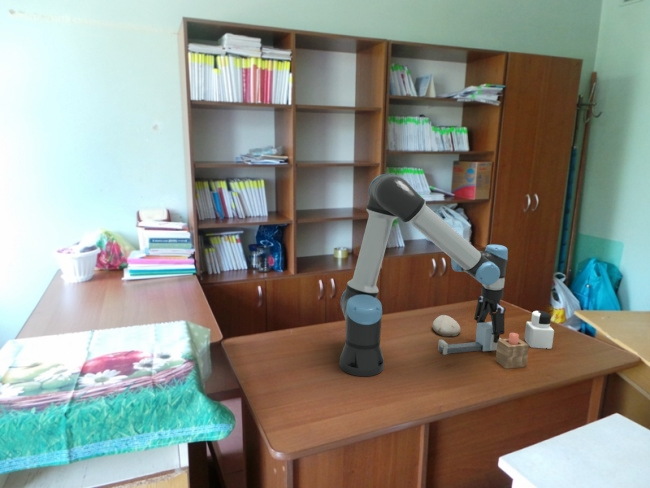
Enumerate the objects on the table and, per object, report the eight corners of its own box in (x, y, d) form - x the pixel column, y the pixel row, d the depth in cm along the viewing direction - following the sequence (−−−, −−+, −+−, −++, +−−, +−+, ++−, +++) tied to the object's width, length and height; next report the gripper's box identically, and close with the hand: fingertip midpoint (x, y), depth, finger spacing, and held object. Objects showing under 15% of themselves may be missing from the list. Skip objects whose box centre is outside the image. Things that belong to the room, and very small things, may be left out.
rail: (443, 354, 162) (444, 344, 161) (438, 349, 165) (438, 339, 165) (501, 349, 168) (502, 339, 167) (494, 344, 171) (495, 334, 170)
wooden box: (506, 368, 152) (508, 346, 151) (495, 360, 158) (497, 339, 156) (526, 366, 154) (528, 345, 153) (514, 358, 160) (517, 337, 158)
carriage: (483, 351, 165) (486, 328, 163) (475, 345, 170) (477, 323, 168) (497, 350, 166) (500, 327, 164) (488, 343, 172) (491, 321, 170)
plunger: (510, 358, 154) (513, 336, 152) (505, 354, 157) (507, 332, 155) (518, 357, 154) (520, 335, 153) (512, 353, 157) (515, 332, 156)
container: (544, 340, 176) (548, 309, 173) (551, 349, 169) (556, 316, 166) (523, 339, 177) (527, 308, 174) (530, 347, 169) (535, 315, 167)
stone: (451, 348, 178) (465, 334, 176) (432, 334, 177) (445, 319, 175) (446, 332, 191) (459, 318, 188) (428, 319, 190) (440, 305, 187)
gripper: (520, 295, 154) (512, 356, 159) (485, 278, 174) (479, 333, 179) (501, 296, 152) (494, 358, 157) (468, 279, 172) (462, 334, 177)
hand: (486, 344), depth 168 cm, fingers open, 8 cm apart
